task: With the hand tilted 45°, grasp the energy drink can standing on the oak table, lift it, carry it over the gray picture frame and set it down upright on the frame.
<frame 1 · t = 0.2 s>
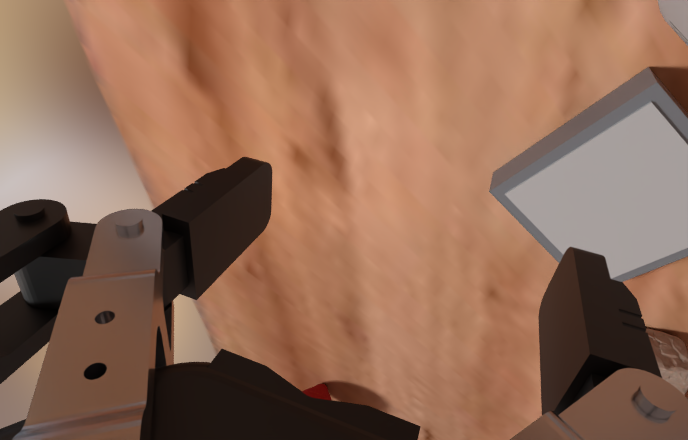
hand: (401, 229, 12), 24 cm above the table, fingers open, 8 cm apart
brick: (611, 377, 43), on the table
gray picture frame: (613, 183, 32), on the table
strawberry: (323, 382, 63), on the table
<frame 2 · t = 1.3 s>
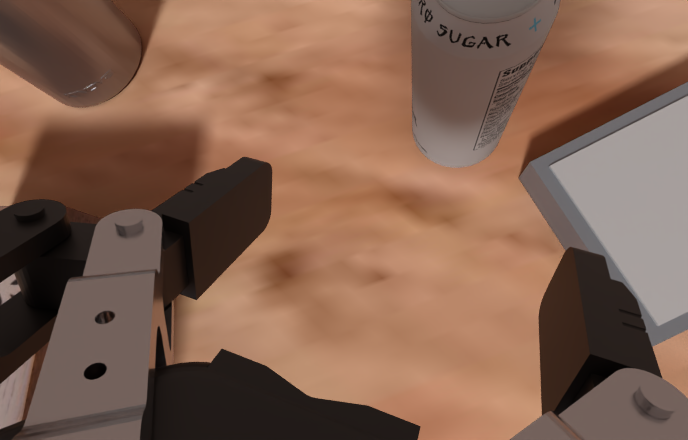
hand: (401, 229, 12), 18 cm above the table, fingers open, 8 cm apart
energy drink can: (454, 133, 31), on the table
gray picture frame: (654, 213, 28), on the table
tissue box cover: (50, 417, 31), on the table
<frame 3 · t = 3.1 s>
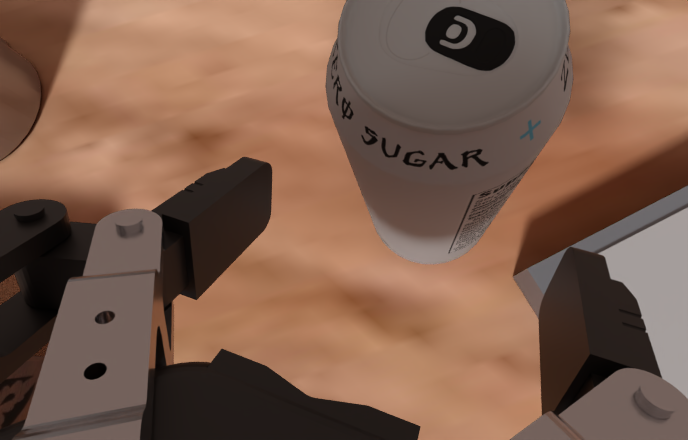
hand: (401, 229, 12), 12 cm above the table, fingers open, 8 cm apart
energy drink can: (428, 212, 24), on the table
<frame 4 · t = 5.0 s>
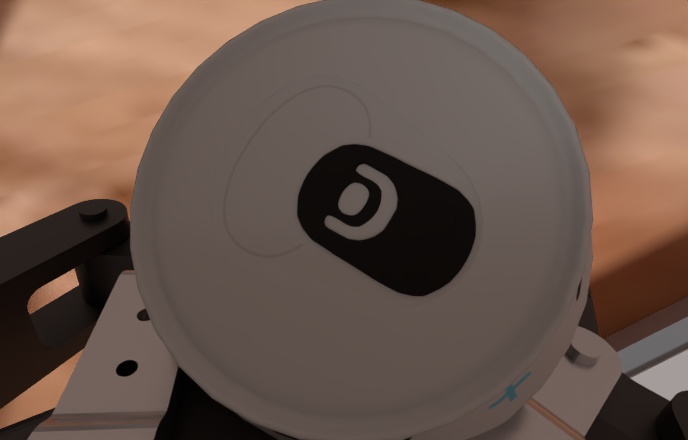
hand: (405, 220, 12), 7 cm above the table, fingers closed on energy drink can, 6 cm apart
energy drink can: (398, 299, 19), on the table, touching gripper
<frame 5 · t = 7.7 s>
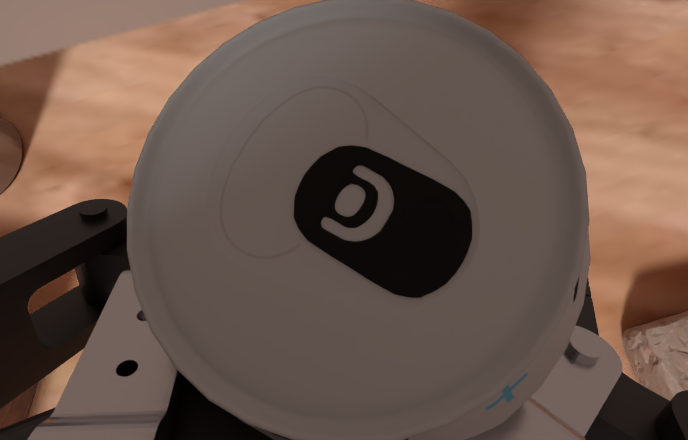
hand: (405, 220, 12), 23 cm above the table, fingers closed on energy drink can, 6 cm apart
energy drink can: (397, 299, 19), point 15 cm above the table, touching gripper
when the fingers open (11 cm above the table, at t = 10.5 s): energy drink can stays where it is, resting on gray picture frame.
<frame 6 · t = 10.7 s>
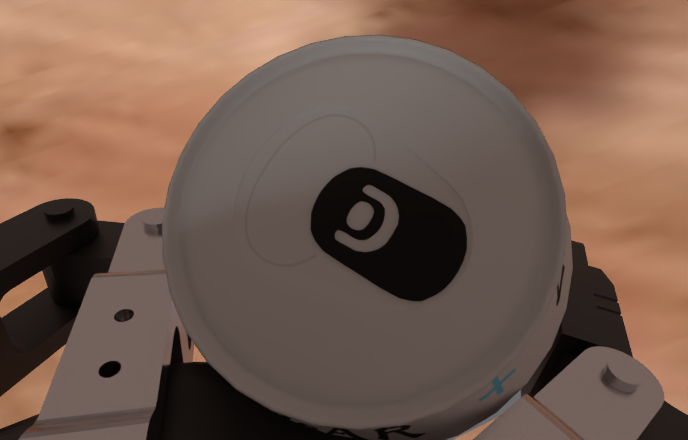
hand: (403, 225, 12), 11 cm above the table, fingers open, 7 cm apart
energy drink can: (396, 304, 20), point 3 cm above the table, touching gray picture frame
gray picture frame: (401, 304, 23), on the table
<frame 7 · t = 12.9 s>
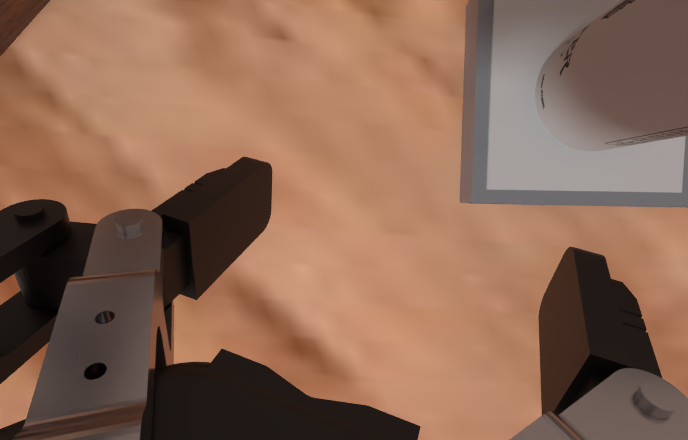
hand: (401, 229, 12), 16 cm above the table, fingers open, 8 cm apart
energy drink can: (583, 97, 24), point 3 cm above the table, touching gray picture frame
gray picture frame: (562, 106, 27), on the table
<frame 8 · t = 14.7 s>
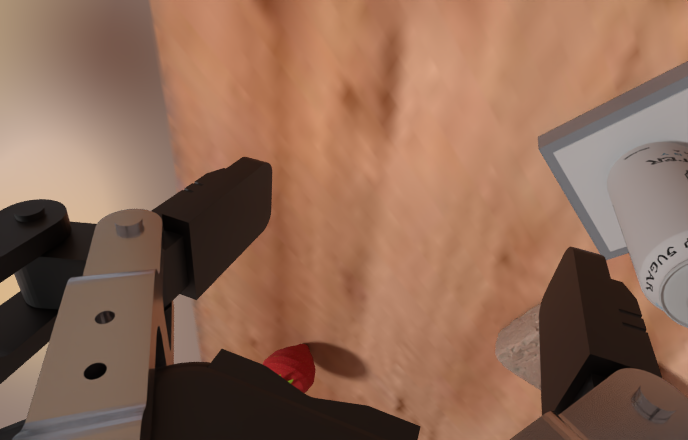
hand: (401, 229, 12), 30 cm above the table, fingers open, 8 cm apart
energy drink can: (649, 173, 34), point 3 cm above the table, touching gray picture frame
brick: (580, 354, 48), on the table
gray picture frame: (643, 160, 36), on the table
strawberry: (304, 343, 63), on the table
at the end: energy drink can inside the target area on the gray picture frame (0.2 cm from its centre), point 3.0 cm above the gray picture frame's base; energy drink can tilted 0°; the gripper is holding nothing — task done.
